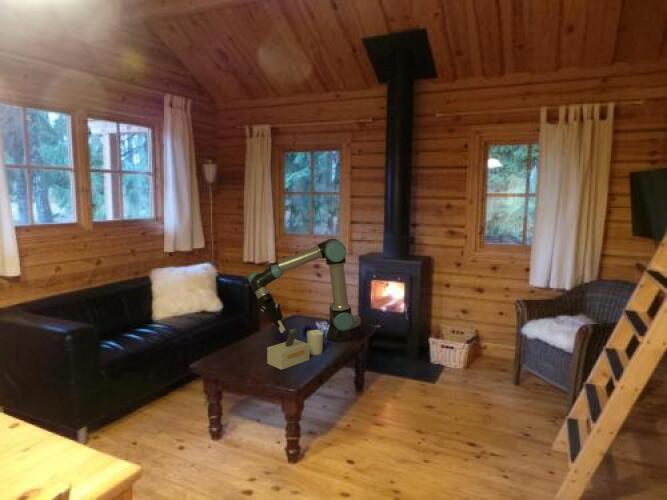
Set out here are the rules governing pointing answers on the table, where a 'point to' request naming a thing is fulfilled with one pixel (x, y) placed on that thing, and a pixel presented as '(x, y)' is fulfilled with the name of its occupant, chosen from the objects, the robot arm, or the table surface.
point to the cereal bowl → (355, 321)
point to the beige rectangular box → (287, 354)
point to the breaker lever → (291, 336)
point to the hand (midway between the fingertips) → (283, 331)
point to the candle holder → (315, 341)
